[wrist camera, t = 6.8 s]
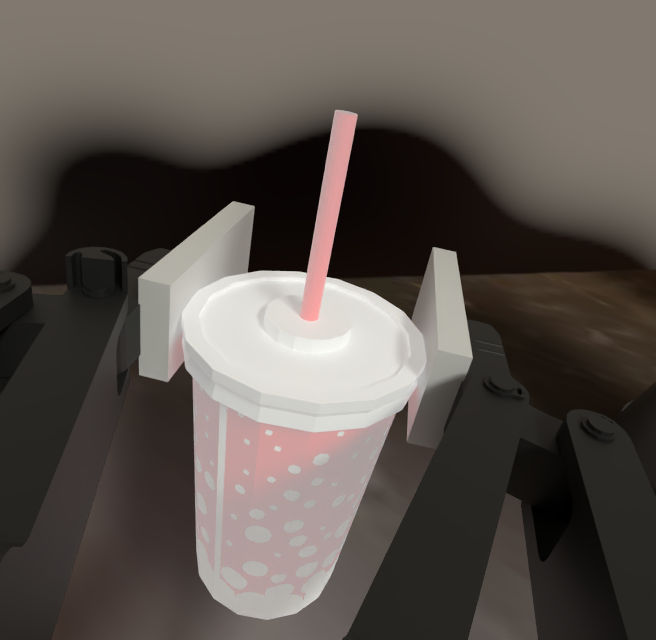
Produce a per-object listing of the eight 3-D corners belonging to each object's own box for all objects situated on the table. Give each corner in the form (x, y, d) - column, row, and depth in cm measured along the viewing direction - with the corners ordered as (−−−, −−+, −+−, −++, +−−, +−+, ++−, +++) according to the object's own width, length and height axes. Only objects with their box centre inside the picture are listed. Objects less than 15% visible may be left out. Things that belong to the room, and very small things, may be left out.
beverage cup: (389, 551, 18) (539, 146, 11) (268, 697, 13) (395, 167, 7) (265, 455, 21) (323, 86, 14) (131, 549, 16) (120, 72, 9)
